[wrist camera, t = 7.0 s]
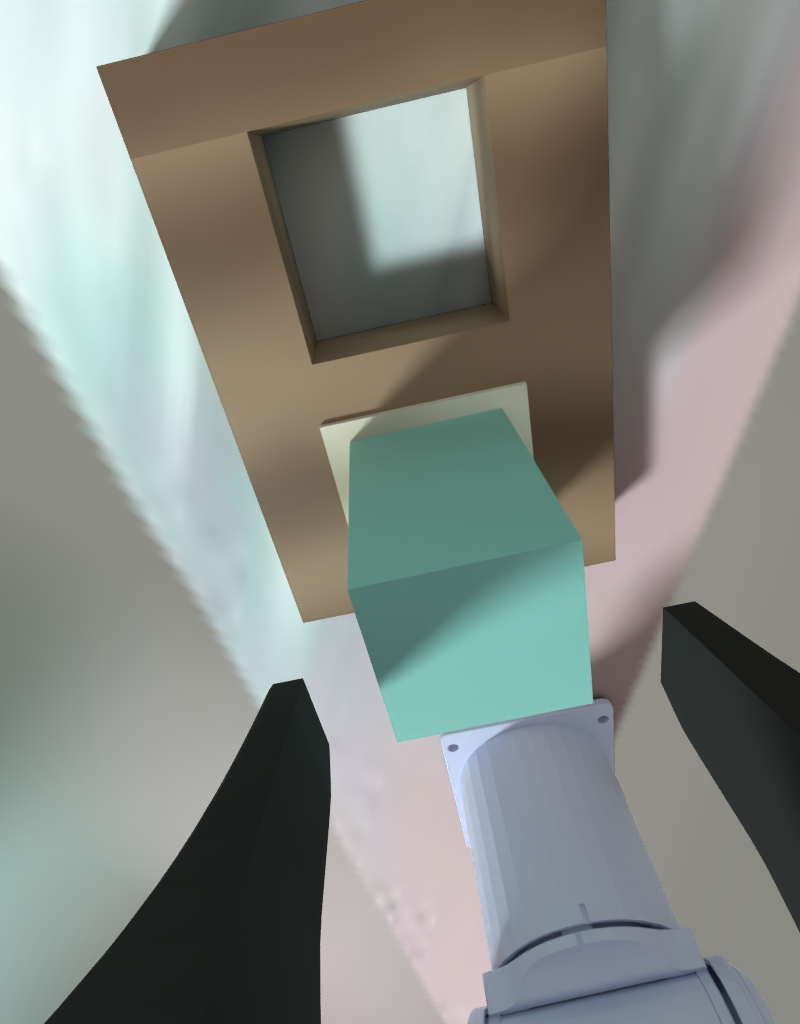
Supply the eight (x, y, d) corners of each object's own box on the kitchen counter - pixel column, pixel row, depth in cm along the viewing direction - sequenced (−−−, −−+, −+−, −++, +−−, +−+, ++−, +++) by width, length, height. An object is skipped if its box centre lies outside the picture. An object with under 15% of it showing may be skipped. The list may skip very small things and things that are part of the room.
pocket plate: (590, 522, 23) (617, 563, 20) (307, 579, 23) (302, 626, 21) (567, -26, 15) (608, -62, 12) (133, 80, 15) (92, 65, 13)
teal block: (518, 535, 19) (593, 703, 13) (384, 564, 20) (397, 742, 14) (502, 407, 17) (582, 539, 11) (349, 441, 17) (347, 589, 11)
